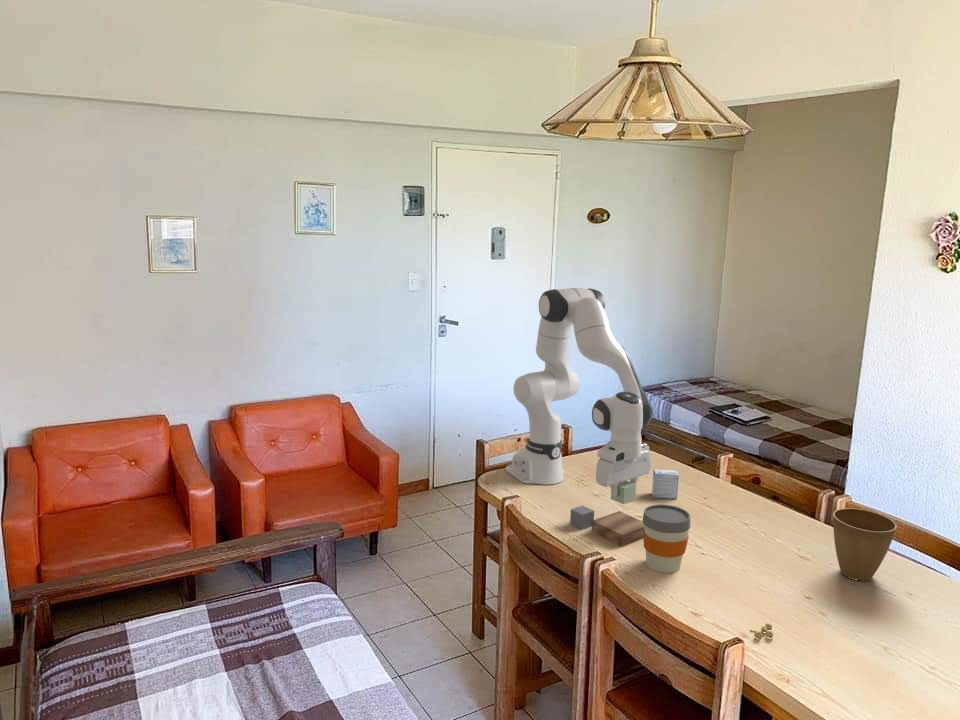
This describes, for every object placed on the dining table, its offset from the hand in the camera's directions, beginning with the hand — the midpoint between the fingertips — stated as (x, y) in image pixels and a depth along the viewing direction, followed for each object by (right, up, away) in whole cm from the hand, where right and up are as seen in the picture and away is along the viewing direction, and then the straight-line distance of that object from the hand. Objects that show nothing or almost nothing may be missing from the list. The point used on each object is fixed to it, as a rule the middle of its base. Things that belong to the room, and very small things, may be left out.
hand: (623, 493), depth 217 cm
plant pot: (+59, -18, -19) cm, 64 cm away
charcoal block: (-11, -11, +8) cm, 18 cm away
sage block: (0, -2, 0) cm, 2 cm away
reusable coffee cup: (+8, -17, -16) cm, 24 cm away
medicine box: (+20, -7, +32) cm, 38 cm away
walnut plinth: (0, -13, +3) cm, 13 cm away
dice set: (+23, -25, -47) cm, 58 cm away
